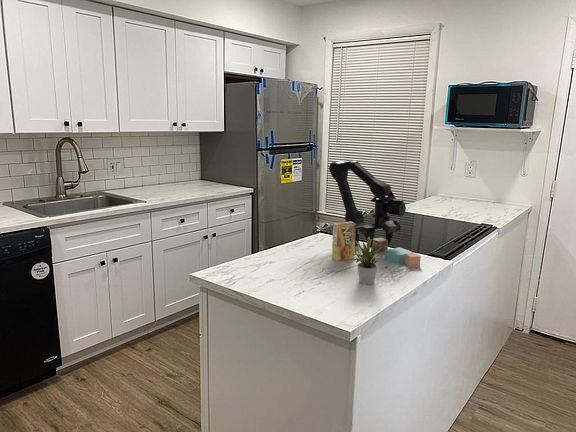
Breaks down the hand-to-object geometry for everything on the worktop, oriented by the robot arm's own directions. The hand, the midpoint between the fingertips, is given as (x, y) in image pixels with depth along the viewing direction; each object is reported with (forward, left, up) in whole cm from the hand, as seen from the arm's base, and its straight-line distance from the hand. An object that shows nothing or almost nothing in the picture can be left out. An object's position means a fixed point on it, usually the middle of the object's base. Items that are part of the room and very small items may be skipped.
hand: (379, 246), depth 196 cm
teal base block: (+6, -13, -2) cm, 14 cm away
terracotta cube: (+10, -20, -2) cm, 22 cm away
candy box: (-17, -13, -2) cm, 21 cm away
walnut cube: (0, 0, -2) cm, 2 cm away
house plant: (-11, -38, -2) cm, 40 cm away
